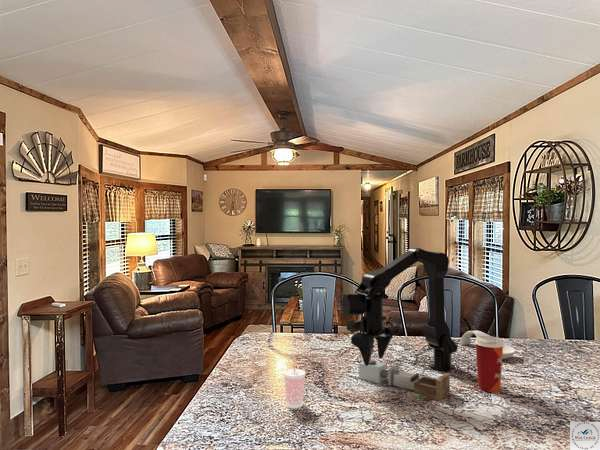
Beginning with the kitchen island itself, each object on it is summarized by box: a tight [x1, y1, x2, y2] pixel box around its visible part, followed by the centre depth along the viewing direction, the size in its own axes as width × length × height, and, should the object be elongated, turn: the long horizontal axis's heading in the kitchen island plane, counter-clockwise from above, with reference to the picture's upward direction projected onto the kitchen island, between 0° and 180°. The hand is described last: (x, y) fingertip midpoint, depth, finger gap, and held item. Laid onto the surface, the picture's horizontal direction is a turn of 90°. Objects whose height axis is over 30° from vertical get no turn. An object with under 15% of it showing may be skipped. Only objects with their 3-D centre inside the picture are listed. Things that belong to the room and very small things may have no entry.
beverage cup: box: [283, 353, 306, 409], centre depth 123 cm, size 6×6×14 cm
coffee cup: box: [474, 335, 505, 393], centre depth 135 cm, size 8×8×15 cm
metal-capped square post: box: [387, 364, 425, 391], centre depth 136 cm, size 7×10×5 cm
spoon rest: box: [460, 330, 517, 360], centre depth 171 cm, size 24×12×7 cm, turn 21°
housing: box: [407, 372, 451, 402], centre depth 131 cm, size 10×9×6 cm
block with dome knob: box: [358, 359, 388, 384], centre depth 143 cm, size 5×8×6 cm, turn 52°
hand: (373, 361), depth 143 cm, fingers open, 9 cm apart
